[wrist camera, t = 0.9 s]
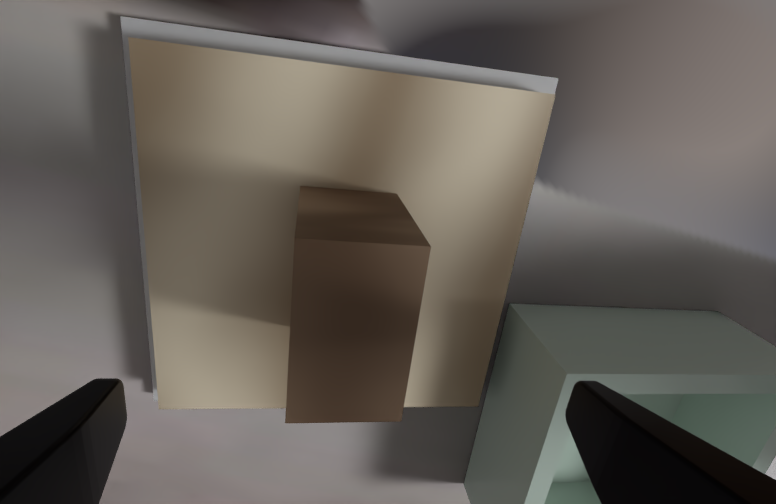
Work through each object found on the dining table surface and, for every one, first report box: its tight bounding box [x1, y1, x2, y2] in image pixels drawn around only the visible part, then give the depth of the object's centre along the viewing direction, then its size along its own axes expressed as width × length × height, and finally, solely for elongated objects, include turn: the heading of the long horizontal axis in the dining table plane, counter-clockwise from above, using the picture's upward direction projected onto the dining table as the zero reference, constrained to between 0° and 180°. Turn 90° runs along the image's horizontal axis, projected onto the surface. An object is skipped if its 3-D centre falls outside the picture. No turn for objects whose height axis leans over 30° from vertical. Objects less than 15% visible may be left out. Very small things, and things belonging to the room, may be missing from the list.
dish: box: [464, 303, 776, 504], centre depth 19 cm, size 10×10×4 cm
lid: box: [128, 37, 555, 423], centre depth 13 cm, size 12×12×6 cm
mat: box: [120, 16, 558, 401], centre depth 16 cm, size 13×13×1 cm
